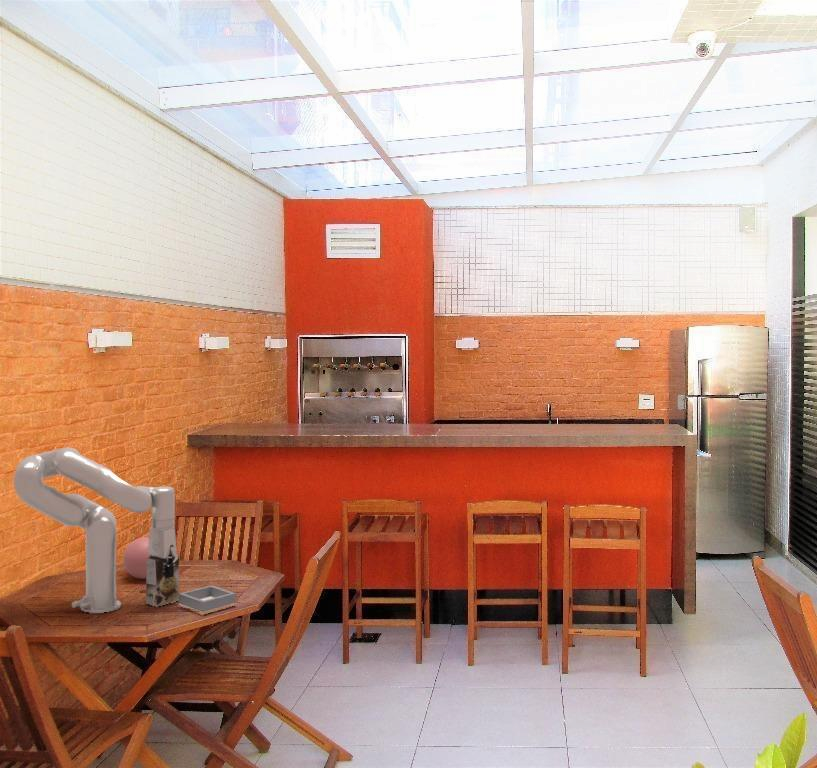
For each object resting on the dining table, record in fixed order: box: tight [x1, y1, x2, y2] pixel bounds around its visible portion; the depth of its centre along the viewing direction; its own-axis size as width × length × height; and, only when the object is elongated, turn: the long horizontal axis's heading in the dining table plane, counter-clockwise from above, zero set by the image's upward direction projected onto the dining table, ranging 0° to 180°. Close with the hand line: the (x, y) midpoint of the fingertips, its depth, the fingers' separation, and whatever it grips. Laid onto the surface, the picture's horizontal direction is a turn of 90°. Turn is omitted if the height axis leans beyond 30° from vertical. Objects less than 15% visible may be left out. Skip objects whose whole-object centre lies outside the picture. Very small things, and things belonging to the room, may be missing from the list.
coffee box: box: [145, 555, 180, 607], centre depth 292 cm, size 9×6×16 cm
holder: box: [178, 584, 237, 612], centre depth 289 cm, size 13×13×4 cm
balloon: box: [122, 536, 150, 580], centre depth 322 cm, size 15×20×15 cm
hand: (162, 574), depth 291 cm, fingers closed on coffee box, 6 cm apart
